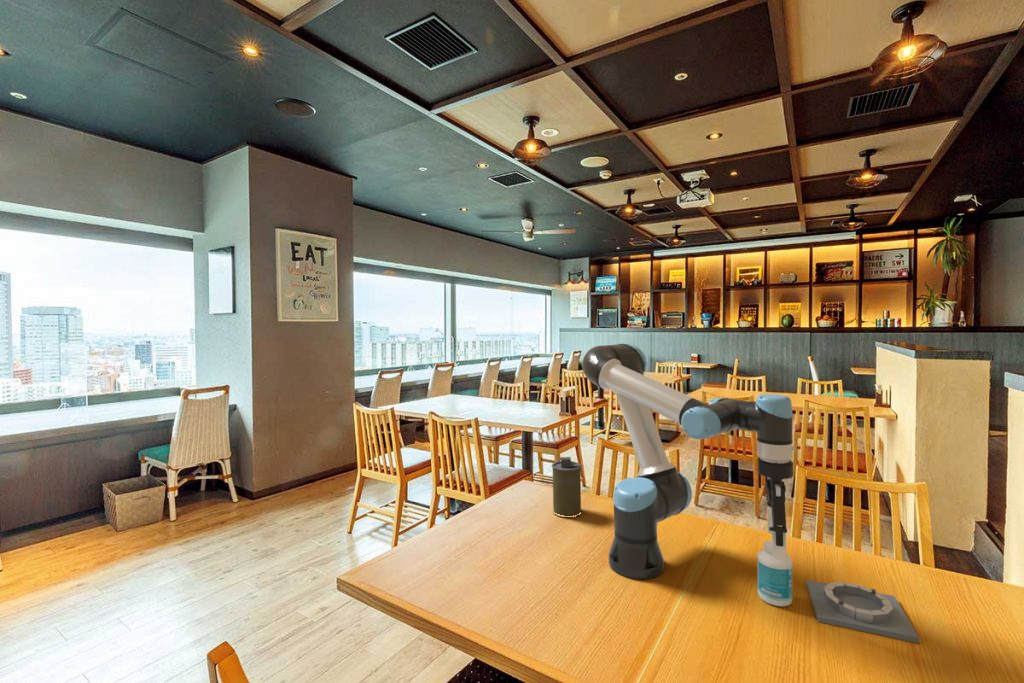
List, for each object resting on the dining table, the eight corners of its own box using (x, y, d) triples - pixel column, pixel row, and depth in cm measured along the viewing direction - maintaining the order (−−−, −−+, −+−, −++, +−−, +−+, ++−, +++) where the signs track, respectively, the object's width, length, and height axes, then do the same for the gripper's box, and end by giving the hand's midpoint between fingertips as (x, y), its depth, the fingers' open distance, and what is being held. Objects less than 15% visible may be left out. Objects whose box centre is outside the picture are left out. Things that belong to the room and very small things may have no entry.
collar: (830, 614, 104) (830, 603, 104) (820, 585, 116) (820, 575, 116) (900, 629, 99) (900, 617, 99) (882, 597, 111) (882, 586, 110)
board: (817, 621, 104) (817, 616, 104) (806, 584, 119) (806, 579, 119) (919, 643, 97) (919, 637, 96) (894, 600, 111) (894, 595, 111)
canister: (551, 517, 163) (550, 462, 162) (553, 505, 173) (552, 453, 172) (582, 519, 161) (581, 462, 160) (583, 507, 171) (582, 454, 170)
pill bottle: (797, 609, 109) (797, 553, 108) (763, 606, 110) (763, 551, 109) (785, 591, 116) (785, 539, 115) (753, 588, 117) (753, 536, 117)
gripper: (800, 476, 99) (802, 573, 99) (786, 447, 121) (787, 526, 122) (760, 472, 102) (762, 566, 102) (754, 444, 124) (755, 522, 125)
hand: (776, 545), depth 112 cm, fingers open, 13 cm apart
